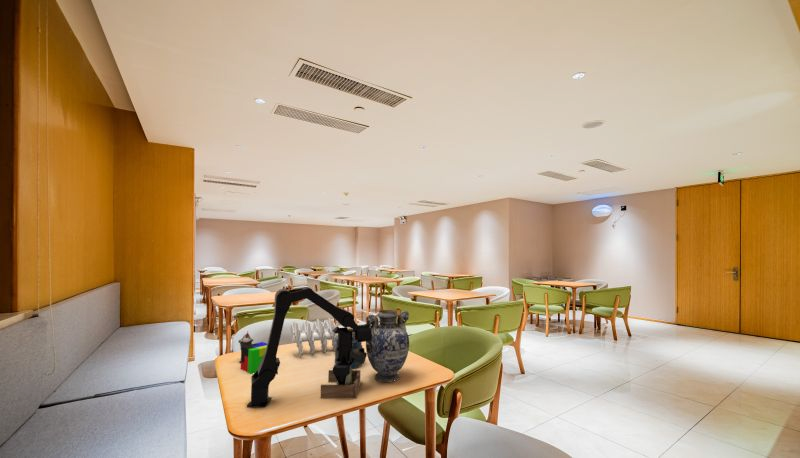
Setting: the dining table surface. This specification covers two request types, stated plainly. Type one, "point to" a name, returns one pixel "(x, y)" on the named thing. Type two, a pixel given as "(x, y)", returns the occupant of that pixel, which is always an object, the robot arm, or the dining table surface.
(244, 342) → the dark lantern
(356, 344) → the canister
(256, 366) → the puzzle toy
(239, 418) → the dining table surface
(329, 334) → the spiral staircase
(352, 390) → the open wooden frame
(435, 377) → the dining table surface
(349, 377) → the block
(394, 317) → the decorative vase
